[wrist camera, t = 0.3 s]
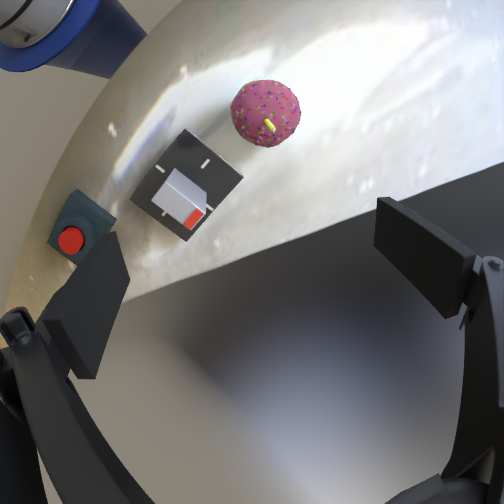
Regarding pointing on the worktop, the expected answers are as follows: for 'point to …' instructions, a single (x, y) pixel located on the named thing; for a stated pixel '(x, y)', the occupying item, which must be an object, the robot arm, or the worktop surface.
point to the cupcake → (265, 112)
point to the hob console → (194, 168)
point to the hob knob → (181, 199)
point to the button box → (81, 224)
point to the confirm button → (71, 240)
